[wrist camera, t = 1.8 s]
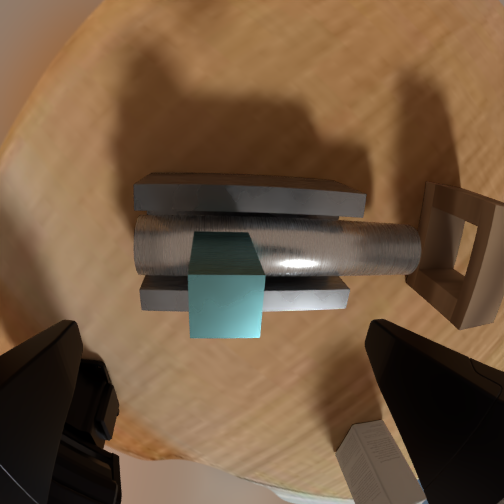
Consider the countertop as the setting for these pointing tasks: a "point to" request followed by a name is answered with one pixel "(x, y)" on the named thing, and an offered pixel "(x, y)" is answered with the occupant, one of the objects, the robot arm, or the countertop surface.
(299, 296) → the channel
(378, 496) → the skincare box
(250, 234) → the rod
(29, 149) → the countertop surface
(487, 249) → the socket block
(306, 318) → the countertop surface
